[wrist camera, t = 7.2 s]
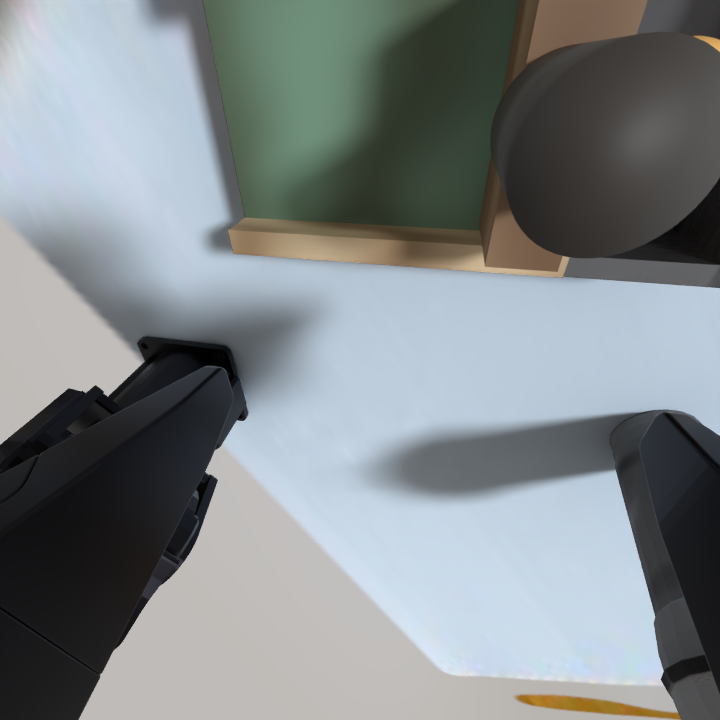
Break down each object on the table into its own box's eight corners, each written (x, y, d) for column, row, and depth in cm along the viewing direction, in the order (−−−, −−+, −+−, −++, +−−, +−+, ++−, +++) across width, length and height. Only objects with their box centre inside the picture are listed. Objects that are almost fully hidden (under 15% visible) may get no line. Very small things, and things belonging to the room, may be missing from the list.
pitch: (266, 225, 19) (233, 253, 16) (217, -79, 13) (149, -118, 10) (545, 241, 17) (562, 277, 14) (650, -114, 10) (719, -178, 8)
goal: (545, 241, 17) (562, 276, 14) (650, -114, 10) (716, -175, 8) (685, 250, 16) (732, 288, 13) (891, -134, 10) (1062, -212, 7)
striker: (465, 221, 14) (471, 342, 8) (507, -48, 10) (589, -228, 4) (549, 225, 14) (624, 358, 8) (633, -55, 9) (960, -277, 3)
